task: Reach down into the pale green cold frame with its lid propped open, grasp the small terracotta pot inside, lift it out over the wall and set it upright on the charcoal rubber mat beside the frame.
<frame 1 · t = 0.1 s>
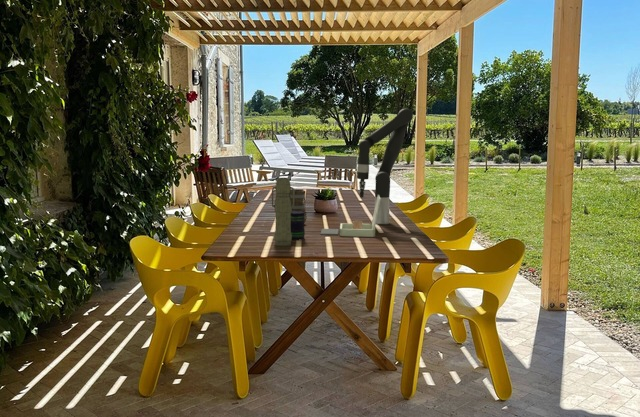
hand: (361, 196, 371), 17 cm above the table, tool pointing down, fingers open, 8 cm apart
slate mat: (329, 232, 339), on the table
tin: (294, 225, 365), on the table
cold frame: (357, 233, 338), on the table
mug: (296, 210, 426), on the table
thermos: (283, 245, 302), on the table
pot: (357, 227, 337), in the cold frame
storage jar: (295, 239, 319), on the table
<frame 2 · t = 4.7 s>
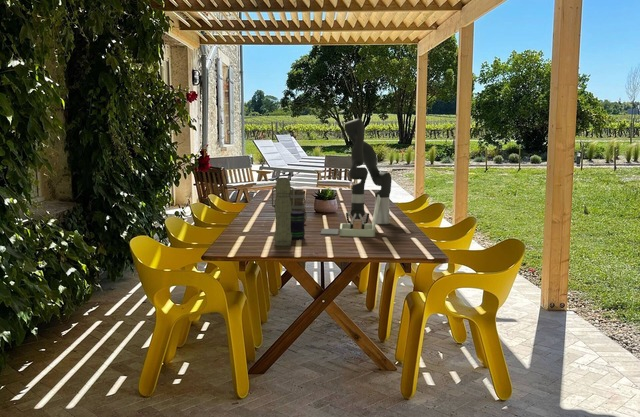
hand: (357, 230, 337), 2 cm above the table, tool pointing down, fingers closed on pot, 5 cm apart
pot: (357, 227, 337), in the cold frame, touching gripper
everything else where it was.
when the fingers open (3 cm above the table, at t = 11.8 s): pot stays where it is, resting on slate mat.
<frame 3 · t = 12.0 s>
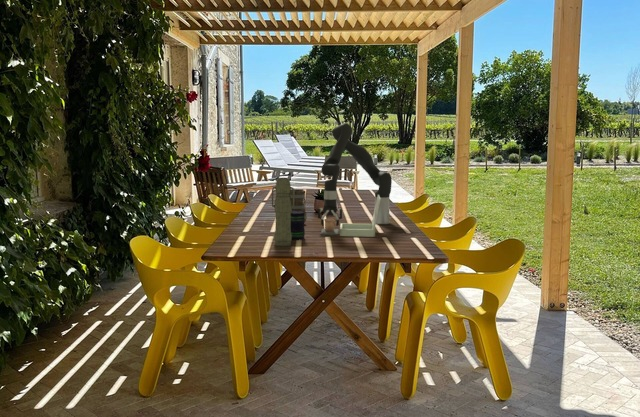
hand: (329, 225, 338), 4 cm above the table, tool pointing down, fingers open, 8 cm apart
pot: (329, 225, 338), on the slate mat, point 4 cm above the table
everything else where it was.
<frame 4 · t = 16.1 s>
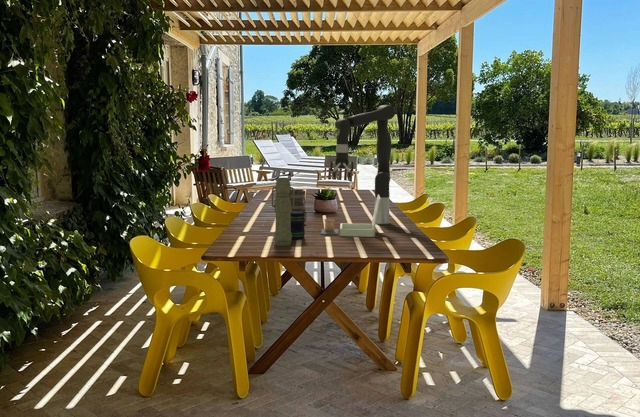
hand: (341, 178, 357), 30 cm above the table, tool pointing down, fingers open, 8 cm apart
nothing on the table moved.
at the end: pot inside the target area on the slate mat (0.3 cm from its centre), point 4.3 cm above the slate mat's base; pot tilted 0°; the gripper is holding nothing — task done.
